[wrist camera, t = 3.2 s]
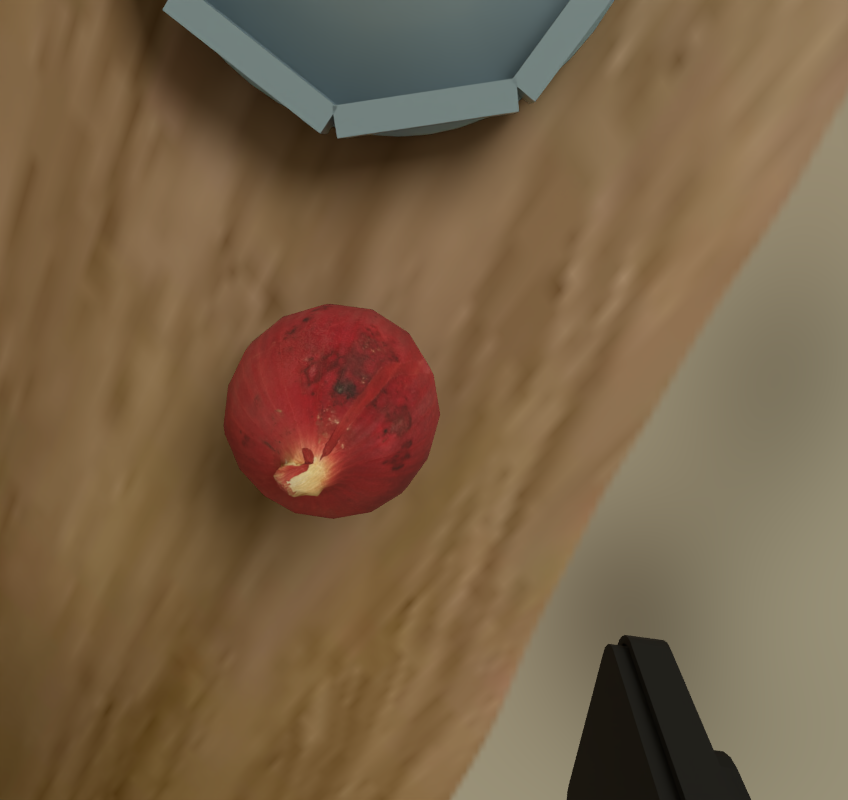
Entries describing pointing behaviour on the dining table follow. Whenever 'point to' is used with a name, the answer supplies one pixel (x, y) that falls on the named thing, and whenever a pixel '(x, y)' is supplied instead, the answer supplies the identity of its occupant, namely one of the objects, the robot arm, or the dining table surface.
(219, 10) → the dish
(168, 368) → the dining table surface
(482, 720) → the dining table surface
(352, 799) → the dining table surface
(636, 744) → the robot arm
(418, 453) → the onion
